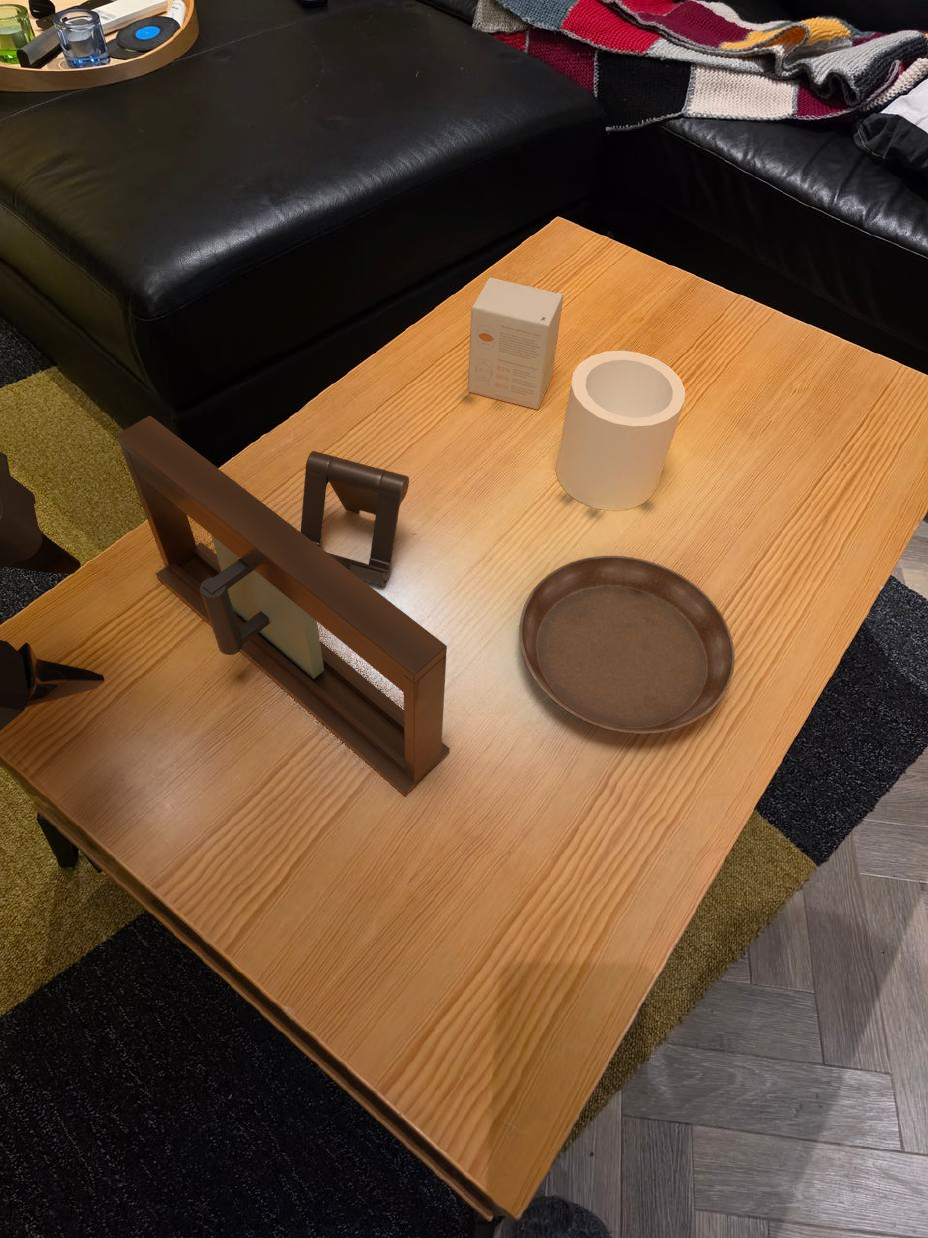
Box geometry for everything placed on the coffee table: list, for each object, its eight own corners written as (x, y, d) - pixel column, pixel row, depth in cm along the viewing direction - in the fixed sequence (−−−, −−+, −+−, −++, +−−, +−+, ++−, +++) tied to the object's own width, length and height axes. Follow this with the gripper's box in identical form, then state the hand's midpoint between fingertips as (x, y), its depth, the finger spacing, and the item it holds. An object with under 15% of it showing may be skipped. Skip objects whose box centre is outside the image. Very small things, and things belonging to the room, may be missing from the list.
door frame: (405, 797, 66) (402, 685, 53) (157, 579, 77) (104, 441, 63) (449, 753, 68) (458, 636, 55) (203, 547, 79) (160, 408, 66)
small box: (552, 379, 95) (566, 293, 86) (538, 411, 92) (550, 326, 83) (482, 360, 96) (488, 274, 87) (465, 392, 93) (470, 306, 84)
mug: (578, 405, 92) (595, 319, 84) (673, 430, 91) (701, 345, 82) (543, 493, 85) (558, 408, 76) (646, 522, 83) (673, 438, 75)
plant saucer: (616, 544, 81) (623, 522, 79) (767, 670, 74) (779, 650, 72) (472, 643, 74) (474, 622, 72) (624, 794, 67) (632, 776, 64)
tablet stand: (290, 563, 78) (278, 499, 72) (325, 502, 83) (317, 436, 76) (383, 590, 77) (380, 527, 70) (413, 527, 82) (413, 462, 75)
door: (271, 715, 68) (247, 626, 58) (189, 641, 72) (154, 546, 62) (324, 670, 71) (310, 578, 61) (243, 601, 74) (217, 504, 64)
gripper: (-81, 618, 38) (201, 679, 50) (-109, 332, 46) (138, 445, 59) (-209, 745, 42) (82, 772, 54) (-213, 459, 50) (40, 540, 63)
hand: (88, 623), depth 58 cm, fingers open, 9 cm apart
